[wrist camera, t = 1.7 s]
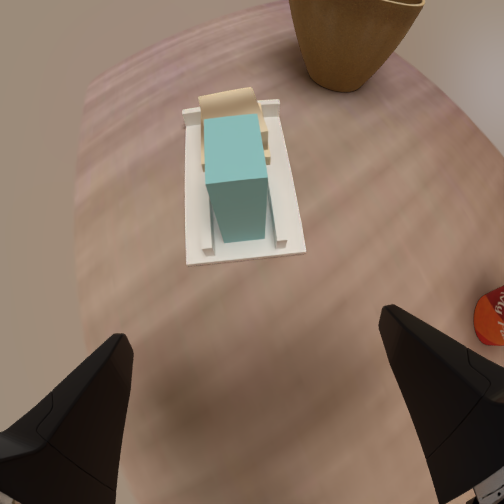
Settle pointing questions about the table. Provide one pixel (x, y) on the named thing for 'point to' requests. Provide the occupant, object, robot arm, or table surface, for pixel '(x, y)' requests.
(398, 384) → the robot arm
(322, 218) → the table surface
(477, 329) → the paper cup
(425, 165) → the table surface
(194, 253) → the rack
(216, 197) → the teal rectangular block
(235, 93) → the offcut upper
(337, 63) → the plant pot
